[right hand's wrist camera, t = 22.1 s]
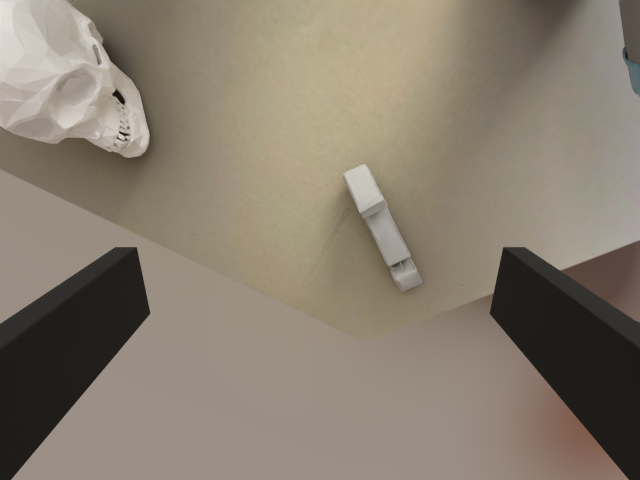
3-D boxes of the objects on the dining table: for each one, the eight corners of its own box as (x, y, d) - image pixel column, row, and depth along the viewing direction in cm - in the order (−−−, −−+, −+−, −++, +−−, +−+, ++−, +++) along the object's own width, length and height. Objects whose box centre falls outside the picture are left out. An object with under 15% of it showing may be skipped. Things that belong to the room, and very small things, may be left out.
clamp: (339, 172, 47) (345, 187, 40) (364, 159, 46) (373, 172, 40) (394, 280, 55) (406, 306, 49) (416, 270, 54) (430, 295, 48)
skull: (121, 180, 47) (35, 209, 32) (-22, 41, 41) (-209, -3, 26) (188, 116, 45) (127, 114, 30) (46, -42, 39) (-119, -143, 24)
